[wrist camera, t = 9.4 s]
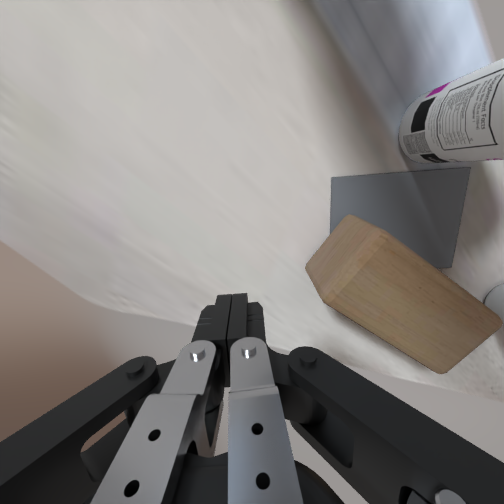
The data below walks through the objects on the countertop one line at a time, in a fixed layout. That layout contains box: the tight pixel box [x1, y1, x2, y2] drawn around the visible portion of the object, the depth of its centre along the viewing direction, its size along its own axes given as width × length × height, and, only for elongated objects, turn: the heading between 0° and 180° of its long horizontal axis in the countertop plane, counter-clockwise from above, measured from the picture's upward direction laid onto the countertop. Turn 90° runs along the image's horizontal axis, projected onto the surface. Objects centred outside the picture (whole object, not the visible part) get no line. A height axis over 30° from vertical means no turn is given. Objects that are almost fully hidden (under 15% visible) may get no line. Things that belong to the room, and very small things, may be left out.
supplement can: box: [399, 58, 504, 163], centre depth 24 cm, size 8×8×15 cm
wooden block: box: [305, 214, 503, 374], centre depth 32 cm, size 10×10×20 cm
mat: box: [330, 167, 471, 268], centre depth 35 cm, size 14×18×1 cm
